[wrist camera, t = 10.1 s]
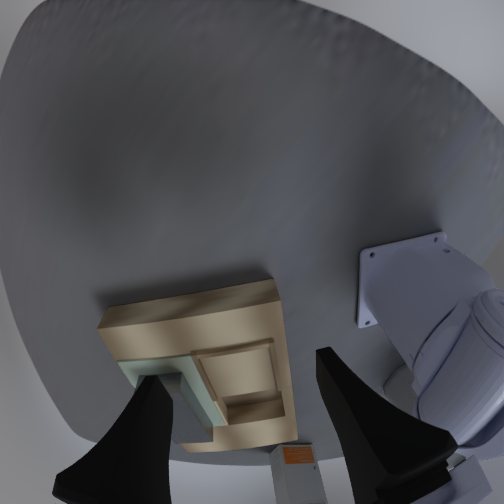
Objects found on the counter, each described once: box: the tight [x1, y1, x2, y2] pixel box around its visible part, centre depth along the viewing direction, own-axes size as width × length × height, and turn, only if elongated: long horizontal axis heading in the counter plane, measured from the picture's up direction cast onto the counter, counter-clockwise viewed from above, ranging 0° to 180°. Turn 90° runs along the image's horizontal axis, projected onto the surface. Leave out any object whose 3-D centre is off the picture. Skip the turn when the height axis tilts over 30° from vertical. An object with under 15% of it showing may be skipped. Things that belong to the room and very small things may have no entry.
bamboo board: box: [97, 278, 298, 453], centre depth 23 cm, size 14×22×3 cm, turn 10°
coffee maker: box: [383, 363, 467, 469], centre depth 20 cm, size 15×9×18 cm, turn 166°
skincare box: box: [269, 444, 328, 504], centre depth 28 cm, size 6×4×12 cm
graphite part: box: [134, 372, 213, 444], centre depth 21 cm, size 4×9×2 cm, turn 10°
